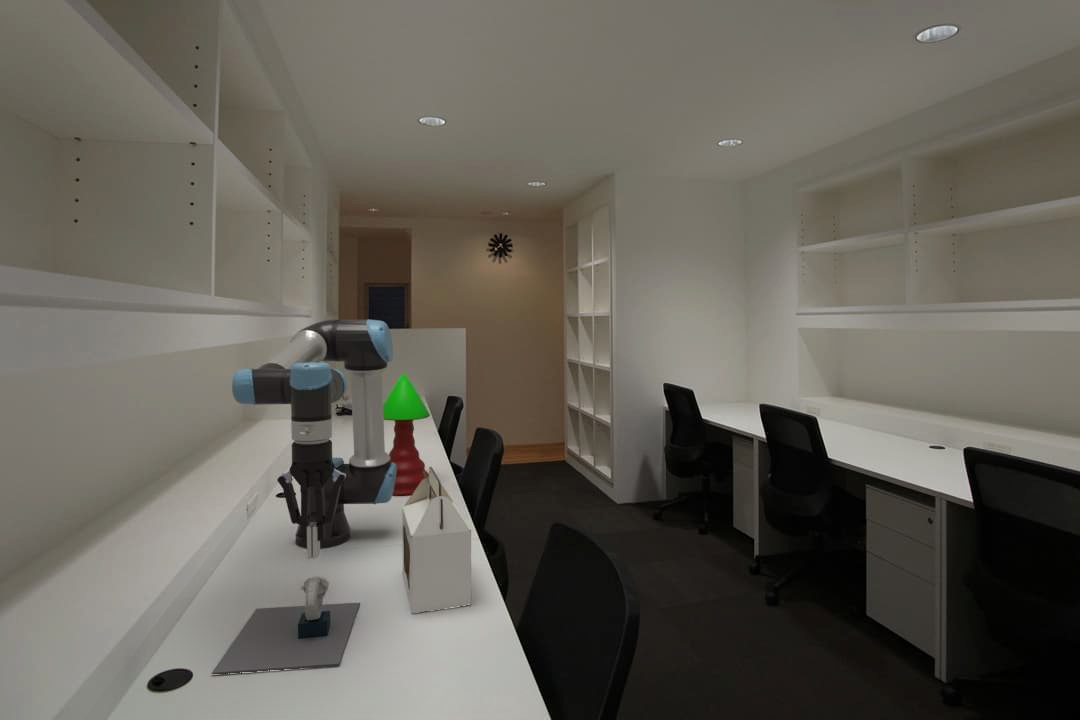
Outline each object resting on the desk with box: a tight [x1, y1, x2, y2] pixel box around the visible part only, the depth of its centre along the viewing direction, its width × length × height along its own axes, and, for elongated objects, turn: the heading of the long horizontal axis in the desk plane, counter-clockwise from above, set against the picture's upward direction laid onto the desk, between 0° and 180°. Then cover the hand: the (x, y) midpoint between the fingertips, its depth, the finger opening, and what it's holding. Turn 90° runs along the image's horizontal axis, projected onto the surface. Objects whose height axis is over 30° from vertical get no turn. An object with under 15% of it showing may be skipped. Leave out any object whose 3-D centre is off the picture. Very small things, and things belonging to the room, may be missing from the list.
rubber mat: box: [211, 602, 361, 675], centre depth 118 cm, size 24×22×1 cm
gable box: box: [401, 466, 472, 614], centre depth 139 cm, size 22×13×28 cm, turn 18°
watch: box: [298, 575, 330, 639], centre depth 119 cm, size 6×8×11 cm
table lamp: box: [383, 371, 431, 496], centre depth 223 cm, size 20×20×45 cm
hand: (313, 556), depth 118 cm, fingers closed
